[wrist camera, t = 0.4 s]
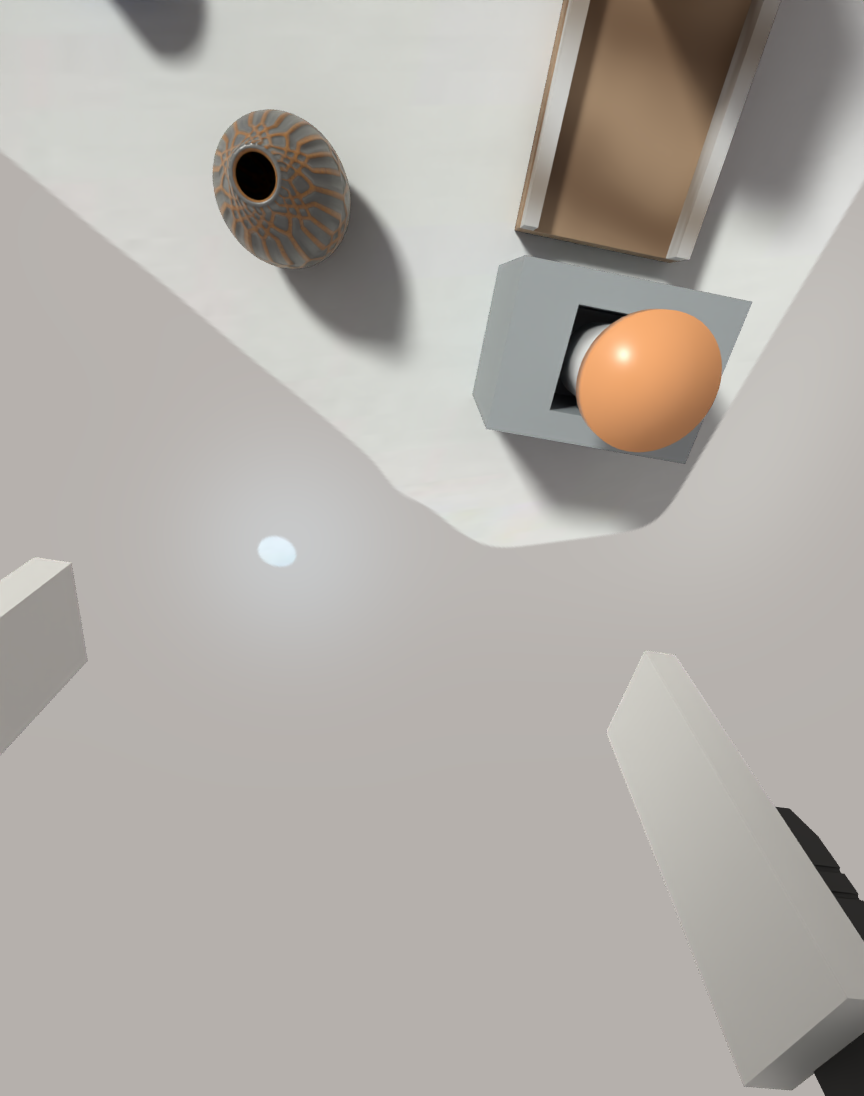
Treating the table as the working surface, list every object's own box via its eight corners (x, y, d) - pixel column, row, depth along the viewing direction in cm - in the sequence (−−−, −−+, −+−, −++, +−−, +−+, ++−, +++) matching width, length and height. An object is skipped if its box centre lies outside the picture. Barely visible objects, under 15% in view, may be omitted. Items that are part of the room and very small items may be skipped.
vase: (378, 181, 30) (358, 142, 22) (327, 293, 33) (294, 294, 25) (269, 104, 28) (207, 32, 20) (225, 229, 31) (155, 207, 23)
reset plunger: (560, 295, 26) (607, 296, 19) (662, 315, 27) (746, 324, 20) (532, 403, 29) (565, 440, 22) (626, 420, 29) (688, 462, 22)
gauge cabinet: (499, 265, 32) (525, 255, 23) (673, 300, 33) (764, 304, 24) (472, 394, 35) (486, 428, 26) (630, 423, 36) (695, 465, 27)
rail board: (627, -301, 22) (653, -382, 19) (838, -237, 23) (892, -307, 20) (514, 230, 31) (522, 224, 28) (669, 262, 32) (691, 260, 29)
